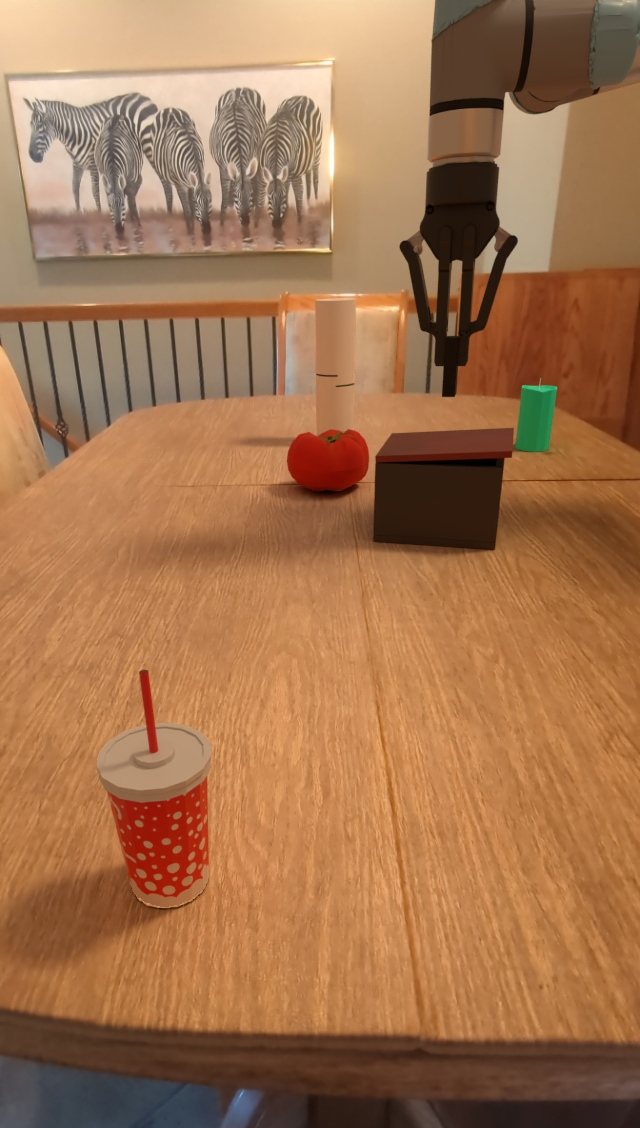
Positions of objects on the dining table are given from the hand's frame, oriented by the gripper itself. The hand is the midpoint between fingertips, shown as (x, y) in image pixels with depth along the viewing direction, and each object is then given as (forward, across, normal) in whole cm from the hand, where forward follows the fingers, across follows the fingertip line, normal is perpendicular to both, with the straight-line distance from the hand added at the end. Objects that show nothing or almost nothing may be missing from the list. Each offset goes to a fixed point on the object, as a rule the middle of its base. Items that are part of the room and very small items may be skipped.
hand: (449, 394), depth 90 cm
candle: (+17, -12, -48) cm, 52 cm away
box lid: (+6, 0, 0) cm, 6 cm away
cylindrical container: (+17, +24, -47) cm, 56 cm away
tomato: (+17, +18, -16) cm, 30 cm away
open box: (+17, 0, 0) cm, 17 cm away
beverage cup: (+17, +9, +66) cm, 69 cm away
